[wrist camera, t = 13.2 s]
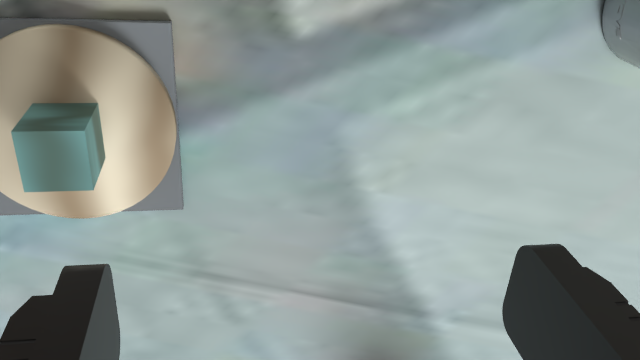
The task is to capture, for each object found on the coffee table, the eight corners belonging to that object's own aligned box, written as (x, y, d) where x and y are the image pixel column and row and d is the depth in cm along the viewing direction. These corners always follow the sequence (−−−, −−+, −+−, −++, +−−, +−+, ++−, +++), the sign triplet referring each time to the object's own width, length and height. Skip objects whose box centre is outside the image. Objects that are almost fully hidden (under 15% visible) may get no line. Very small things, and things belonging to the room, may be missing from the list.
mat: (171, 20, 38) (170, 23, 37) (183, 205, 44) (183, 209, 44) (-65, 16, 35) (-69, 18, 35) (-14, 211, 42) (-17, 215, 41)
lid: (169, 25, 37) (163, 50, 32) (182, 206, 44) (178, 250, 39) (-62, 21, 35) (-107, 48, 30) (-12, 213, 41) (-43, 260, 36)
